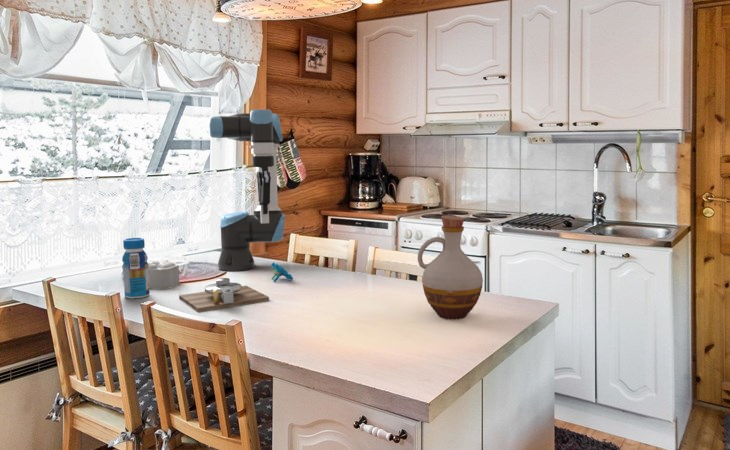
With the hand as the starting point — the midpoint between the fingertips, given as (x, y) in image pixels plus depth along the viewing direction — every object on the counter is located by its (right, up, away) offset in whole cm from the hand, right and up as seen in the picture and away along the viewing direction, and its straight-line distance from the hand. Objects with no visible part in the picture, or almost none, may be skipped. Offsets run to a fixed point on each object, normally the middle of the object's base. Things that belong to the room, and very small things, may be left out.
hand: (264, 222), depth 211 cm
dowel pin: (-12, -26, -18) cm, 34 cm away
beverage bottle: (-44, -26, -2) cm, 51 cm away
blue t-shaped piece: (+3, -22, +19) cm, 29 cm away
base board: (-12, -26, -8) cm, 30 cm away
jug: (+60, -28, -30) cm, 73 cm away
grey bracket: (-11, -24, -12) cm, 29 cm away
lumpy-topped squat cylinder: (-42, -23, +14) cm, 50 cm away
